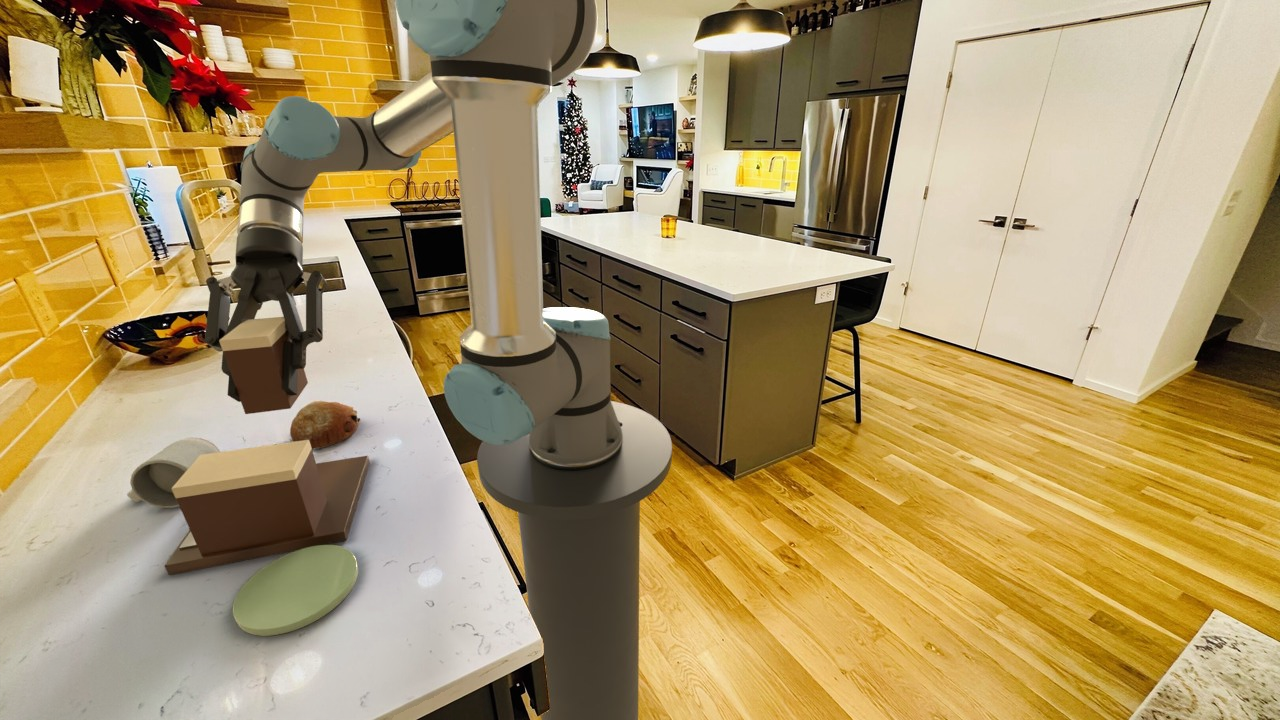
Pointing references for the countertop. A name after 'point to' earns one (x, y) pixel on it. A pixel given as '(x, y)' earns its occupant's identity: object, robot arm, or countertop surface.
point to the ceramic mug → (166, 471)
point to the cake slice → (260, 364)
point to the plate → (295, 590)
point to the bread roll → (324, 423)
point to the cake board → (333, 526)
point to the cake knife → (188, 542)
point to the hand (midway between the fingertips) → (263, 394)
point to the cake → (251, 496)
